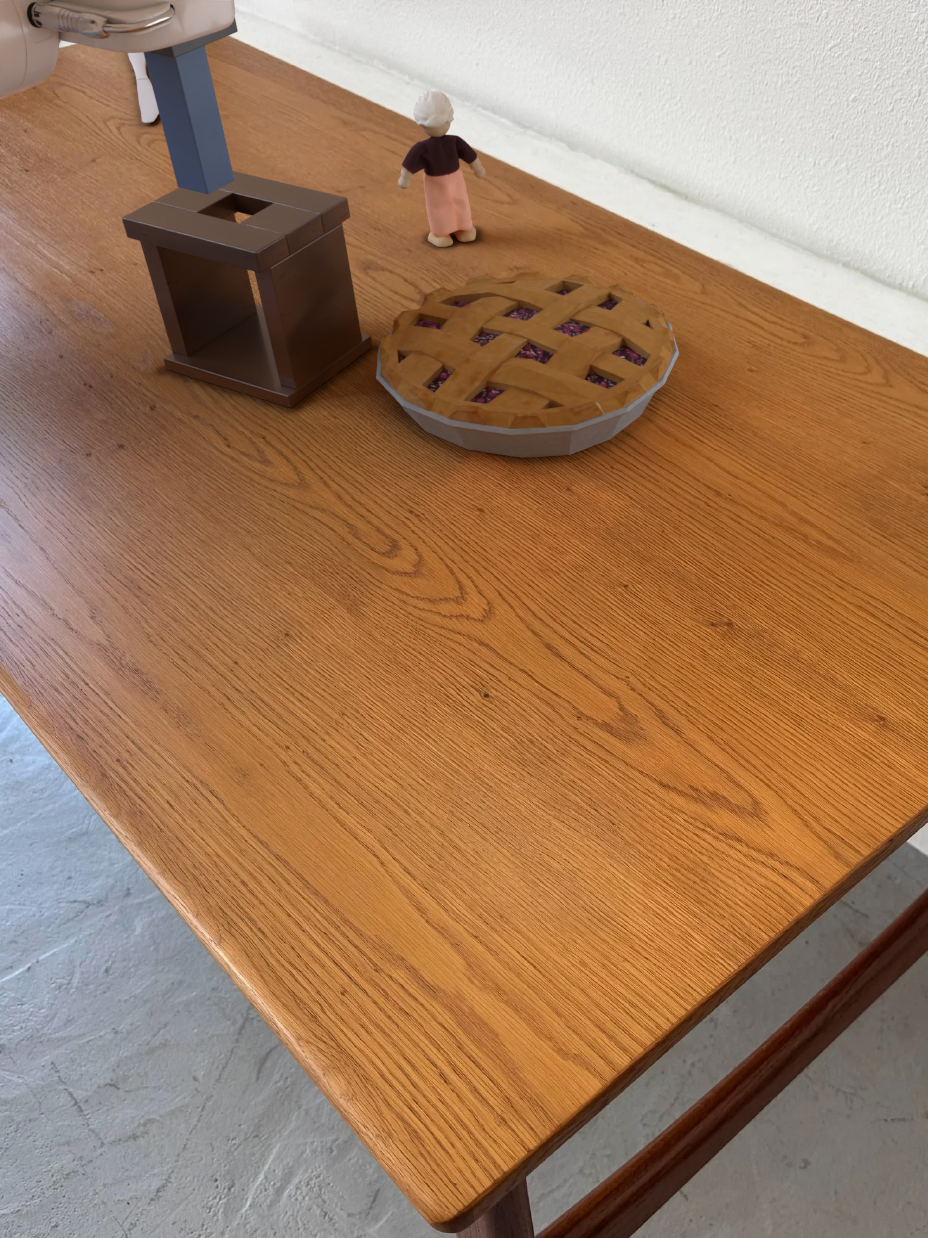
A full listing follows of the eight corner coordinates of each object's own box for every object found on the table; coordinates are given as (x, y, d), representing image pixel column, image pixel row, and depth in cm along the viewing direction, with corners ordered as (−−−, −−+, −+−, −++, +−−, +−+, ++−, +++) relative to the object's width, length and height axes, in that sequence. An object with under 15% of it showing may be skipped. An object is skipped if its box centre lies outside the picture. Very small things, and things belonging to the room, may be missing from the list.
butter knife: (152, 39, 150) (125, 40, 149) (165, 120, 131) (135, 122, 130) (153, 45, 150) (127, 46, 149) (166, 126, 132) (136, 128, 131)
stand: (290, 408, 91) (255, 252, 82) (166, 369, 95) (120, 217, 86) (372, 347, 97) (347, 197, 89) (252, 313, 101) (218, 166, 93)
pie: (595, 502, 82) (593, 439, 79) (323, 426, 89) (310, 364, 85) (721, 351, 97) (724, 292, 93) (479, 295, 103) (473, 238, 100)
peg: (210, 208, 79) (136, -98, 67) (143, 191, 80) (60, -110, 69) (268, 176, 82) (207, -119, 71) (203, 161, 84) (133, -130, 72)
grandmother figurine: (473, 220, 114) (459, 76, 105) (495, 235, 112) (482, 89, 103) (399, 242, 111) (378, 95, 102) (420, 258, 108) (400, 109, 100)
